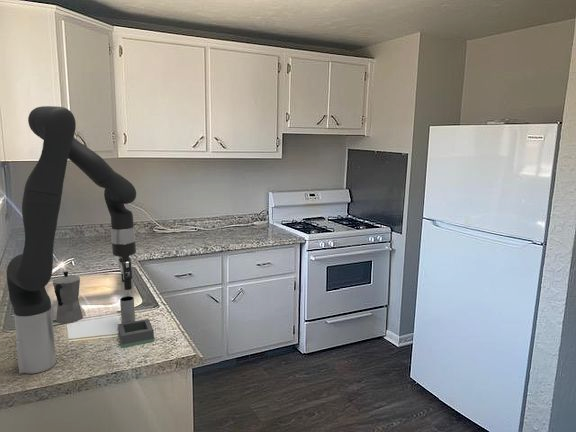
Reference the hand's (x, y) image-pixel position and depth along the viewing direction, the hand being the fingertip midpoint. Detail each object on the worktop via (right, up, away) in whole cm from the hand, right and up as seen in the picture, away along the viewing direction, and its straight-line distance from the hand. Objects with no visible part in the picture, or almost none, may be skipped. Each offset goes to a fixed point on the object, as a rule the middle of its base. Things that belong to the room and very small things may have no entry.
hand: (126, 285), depth 150 cm
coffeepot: (-24, -14, +7) cm, 29 cm away
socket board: (+6, -17, -7) cm, 19 cm away
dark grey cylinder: (0, -15, +3) cm, 15 cm away
